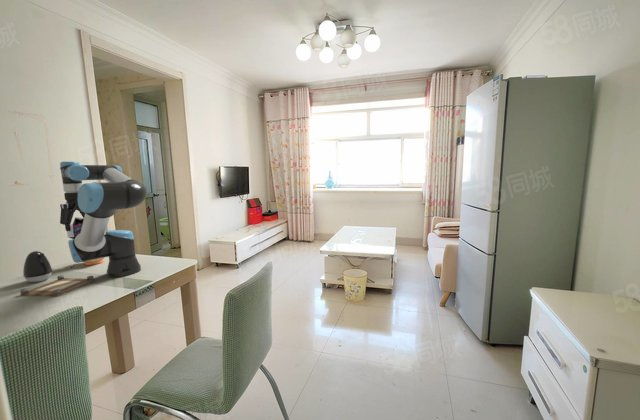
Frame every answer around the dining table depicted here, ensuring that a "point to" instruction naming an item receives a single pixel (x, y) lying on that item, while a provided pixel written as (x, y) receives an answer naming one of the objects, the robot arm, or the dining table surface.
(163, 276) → the dining table surface
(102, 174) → the robot arm
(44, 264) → the black egg-shaped dome
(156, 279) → the dining table surface
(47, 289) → the wooden tray
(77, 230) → the supplement container
